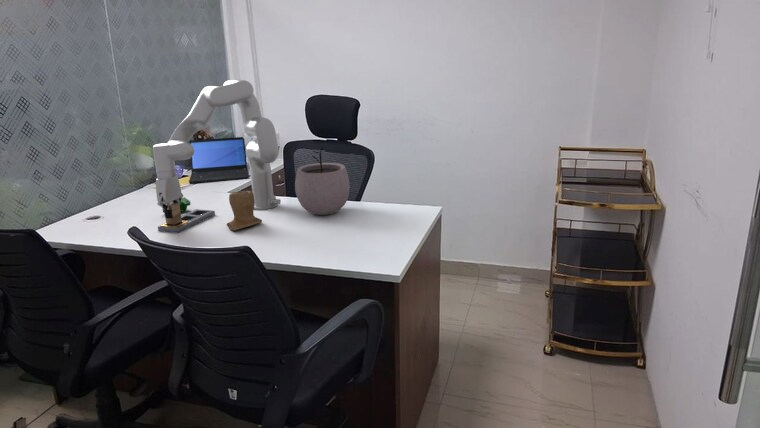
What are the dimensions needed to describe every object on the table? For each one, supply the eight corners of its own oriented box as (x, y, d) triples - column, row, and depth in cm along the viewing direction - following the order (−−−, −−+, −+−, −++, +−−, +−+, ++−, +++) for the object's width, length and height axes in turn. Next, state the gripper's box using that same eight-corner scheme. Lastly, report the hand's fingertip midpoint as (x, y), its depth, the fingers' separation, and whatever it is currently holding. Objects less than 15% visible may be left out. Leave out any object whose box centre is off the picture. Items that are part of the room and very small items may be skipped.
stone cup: (249, 219, 237) (246, 186, 233) (266, 224, 229) (262, 190, 225) (219, 228, 227) (215, 193, 222) (235, 233, 219) (231, 198, 214)
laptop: (188, 185, 303) (183, 151, 297) (193, 171, 338) (189, 140, 332) (249, 179, 311) (245, 146, 305) (247, 166, 345) (244, 136, 340)
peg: (181, 221, 229) (179, 203, 226) (174, 224, 225) (171, 206, 222) (173, 220, 230) (170, 202, 228) (166, 223, 226) (163, 205, 224)
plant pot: (313, 203, 256) (308, 141, 247) (359, 207, 248) (356, 142, 239) (287, 219, 235) (281, 151, 226) (337, 223, 227) (332, 153, 218)
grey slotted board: (215, 214, 245) (214, 210, 244) (177, 232, 223) (176, 227, 222) (197, 213, 248) (196, 208, 248) (158, 230, 226) (157, 225, 225)
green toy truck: (173, 224, 249) (165, 210, 242) (166, 219, 252) (159, 205, 246) (195, 209, 254) (188, 195, 248) (188, 204, 258) (181, 190, 251)
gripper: (173, 169, 230) (179, 210, 235) (144, 178, 215) (151, 221, 220) (187, 169, 227) (193, 211, 233) (159, 179, 212) (166, 223, 218)
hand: (173, 215), depth 227 cm, fingers closed on peg, 4 cm apart
